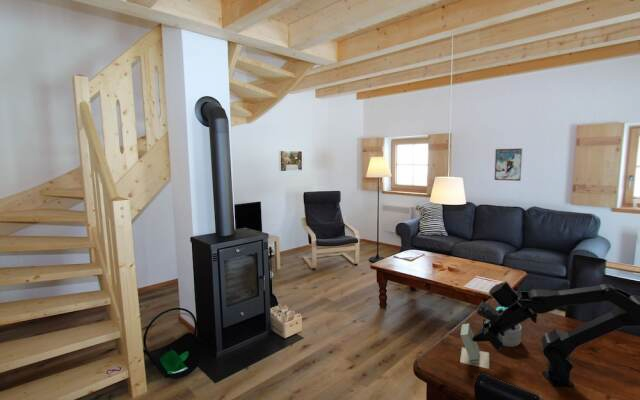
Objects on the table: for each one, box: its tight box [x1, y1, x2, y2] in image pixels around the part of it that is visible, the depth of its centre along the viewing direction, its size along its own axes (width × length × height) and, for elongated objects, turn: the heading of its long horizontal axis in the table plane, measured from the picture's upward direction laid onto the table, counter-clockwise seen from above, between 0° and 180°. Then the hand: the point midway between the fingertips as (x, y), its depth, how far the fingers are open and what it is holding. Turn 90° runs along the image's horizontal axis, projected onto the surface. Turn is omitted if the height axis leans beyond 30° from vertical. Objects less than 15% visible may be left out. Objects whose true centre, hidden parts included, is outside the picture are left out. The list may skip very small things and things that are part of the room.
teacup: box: [499, 323, 523, 348], centre depth 132 cm, size 14×11×8 cm
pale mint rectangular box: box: [460, 322, 480, 363], centre depth 121 cm, size 3×8×10 cm, turn 153°
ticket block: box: [459, 346, 490, 370], centre depth 121 cm, size 9×10×2 cm
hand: (473, 340), depth 120 cm, fingers closed, pressing on pale mint rectangular box
